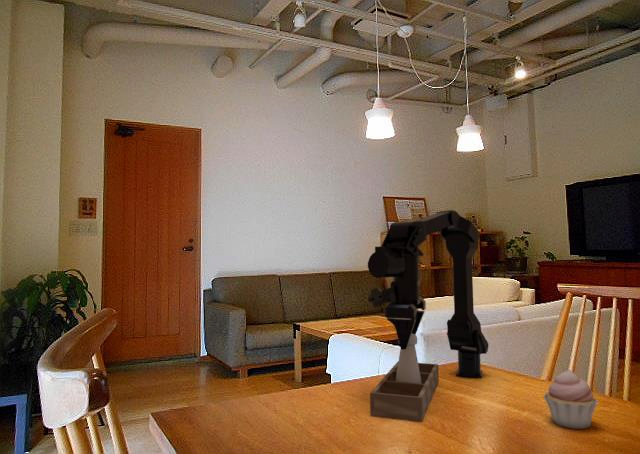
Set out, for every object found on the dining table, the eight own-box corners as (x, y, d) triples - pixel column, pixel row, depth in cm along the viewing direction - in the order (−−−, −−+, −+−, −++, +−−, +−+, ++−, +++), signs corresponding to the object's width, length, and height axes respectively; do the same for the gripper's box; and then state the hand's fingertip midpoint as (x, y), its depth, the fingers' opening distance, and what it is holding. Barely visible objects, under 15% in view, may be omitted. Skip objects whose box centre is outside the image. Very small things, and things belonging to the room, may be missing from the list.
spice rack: (398, 378, 122) (397, 361, 122) (438, 382, 119) (438, 364, 119) (370, 415, 95) (370, 393, 95) (421, 421, 91) (421, 398, 92)
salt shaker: (414, 397, 103) (413, 337, 103) (391, 392, 106) (390, 334, 107) (425, 390, 107) (424, 333, 108) (402, 386, 111) (402, 330, 112)
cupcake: (607, 424, 90) (605, 370, 90) (588, 437, 83) (586, 379, 84) (556, 411, 97) (554, 362, 97) (535, 422, 90) (534, 369, 91)
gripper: (380, 274, 120) (381, 336, 119) (361, 278, 102) (361, 351, 101) (425, 274, 116) (426, 339, 115) (413, 278, 98) (414, 354, 97)
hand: (407, 345), depth 107 cm, fingers open, 9 cm apart
